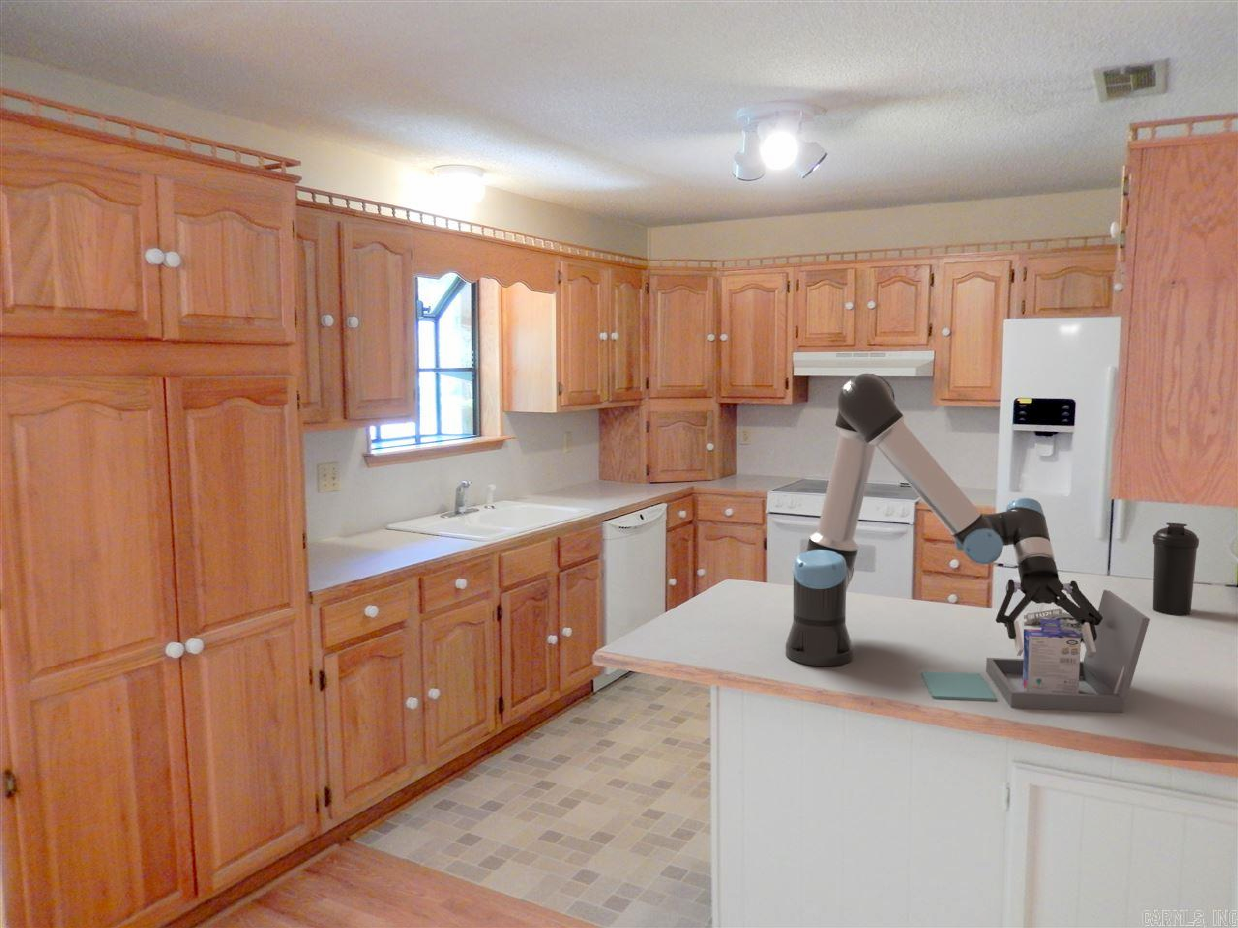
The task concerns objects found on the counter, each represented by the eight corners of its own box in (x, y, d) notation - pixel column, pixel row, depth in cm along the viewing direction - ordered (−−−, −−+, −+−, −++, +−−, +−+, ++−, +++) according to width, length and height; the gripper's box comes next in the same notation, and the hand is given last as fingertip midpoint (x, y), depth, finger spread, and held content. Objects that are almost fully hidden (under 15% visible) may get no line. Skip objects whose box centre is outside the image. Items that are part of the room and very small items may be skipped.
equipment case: (1010, 707, 172) (1014, 613, 169) (986, 671, 191) (989, 586, 189) (1144, 713, 168) (1150, 617, 165) (1105, 675, 187) (1109, 589, 185)
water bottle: (1194, 608, 234) (1199, 523, 231) (1194, 618, 226) (1200, 529, 223) (1149, 603, 240) (1154, 519, 237) (1148, 612, 231) (1153, 526, 228)
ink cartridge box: (1072, 687, 182) (1075, 618, 180) (1080, 697, 176) (1083, 626, 174) (1020, 684, 184) (1023, 616, 182) (1027, 694, 178) (1030, 624, 176)
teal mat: (932, 698, 177) (932, 695, 177) (921, 673, 191) (921, 671, 191) (996, 700, 175) (996, 698, 175) (979, 675, 189) (979, 673, 189)
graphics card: (1021, 612, 223) (1060, 606, 227) (1020, 626, 224) (1059, 620, 227) (1071, 632, 207) (1113, 626, 211) (1071, 648, 208) (1112, 641, 211)
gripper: (1092, 573, 192) (1116, 663, 179) (972, 571, 196) (987, 659, 183) (1103, 554, 186) (1128, 647, 173) (978, 553, 190) (994, 643, 177)
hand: (1056, 653), depth 178 cm, fingers open, 13 cm apart
